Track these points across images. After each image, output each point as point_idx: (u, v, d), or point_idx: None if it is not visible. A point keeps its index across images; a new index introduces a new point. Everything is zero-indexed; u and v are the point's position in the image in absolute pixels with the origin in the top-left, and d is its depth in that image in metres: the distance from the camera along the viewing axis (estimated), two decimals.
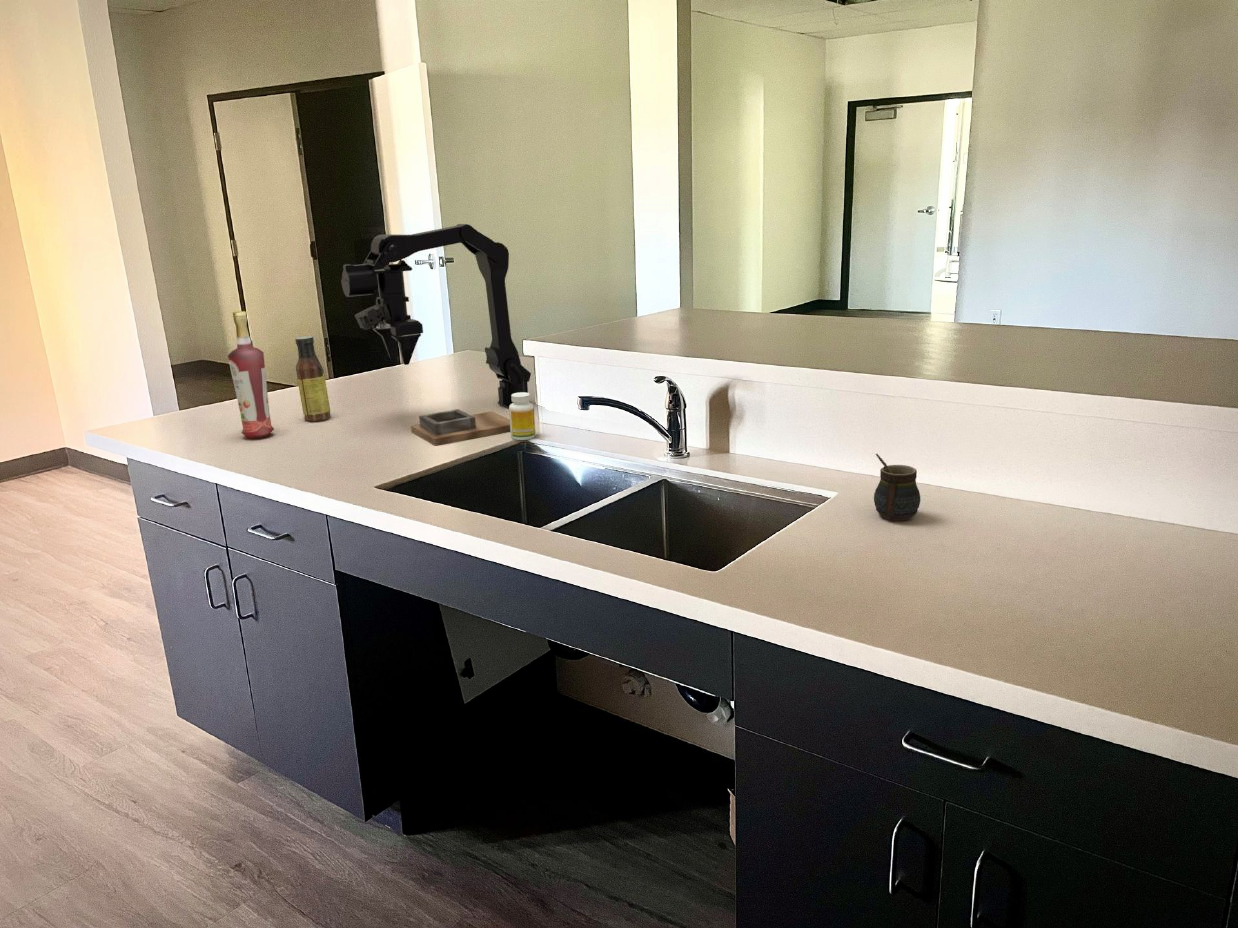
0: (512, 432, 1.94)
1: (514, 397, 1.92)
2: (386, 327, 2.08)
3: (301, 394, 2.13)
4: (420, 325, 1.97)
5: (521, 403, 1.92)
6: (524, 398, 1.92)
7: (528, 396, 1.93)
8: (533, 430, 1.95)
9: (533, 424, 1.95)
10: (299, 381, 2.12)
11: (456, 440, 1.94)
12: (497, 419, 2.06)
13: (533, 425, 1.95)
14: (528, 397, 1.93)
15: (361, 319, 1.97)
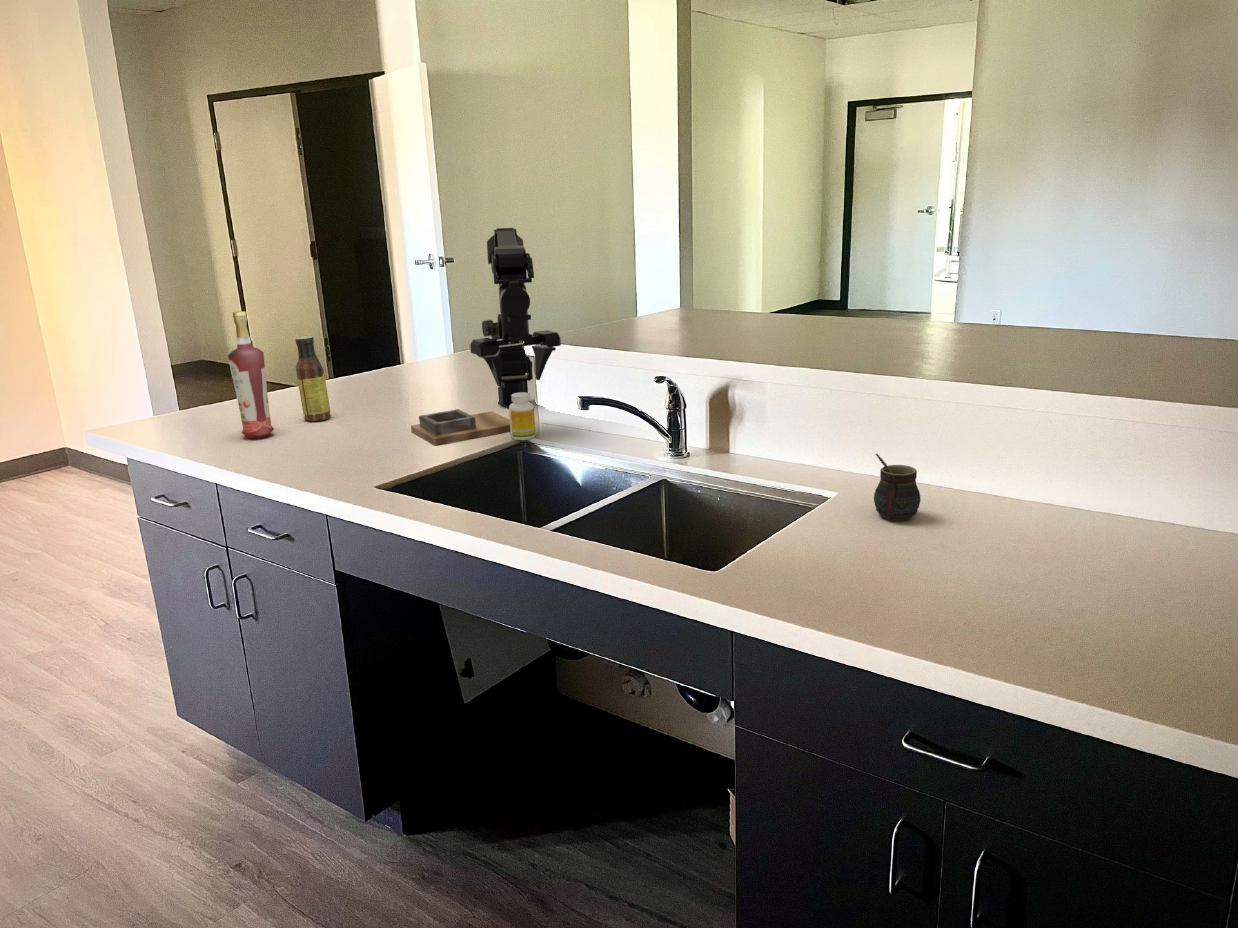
0: (512, 432, 1.94)
1: (514, 397, 1.92)
2: (538, 346, 1.94)
3: (301, 394, 2.13)
4: (480, 347, 1.83)
5: (521, 403, 1.92)
6: (524, 398, 1.92)
7: (528, 396, 1.93)
8: (533, 430, 1.95)
9: (533, 424, 1.95)
10: (299, 381, 2.12)
11: (456, 440, 1.94)
12: (497, 419, 2.06)
13: (533, 425, 1.95)
14: (528, 397, 1.93)
15: None
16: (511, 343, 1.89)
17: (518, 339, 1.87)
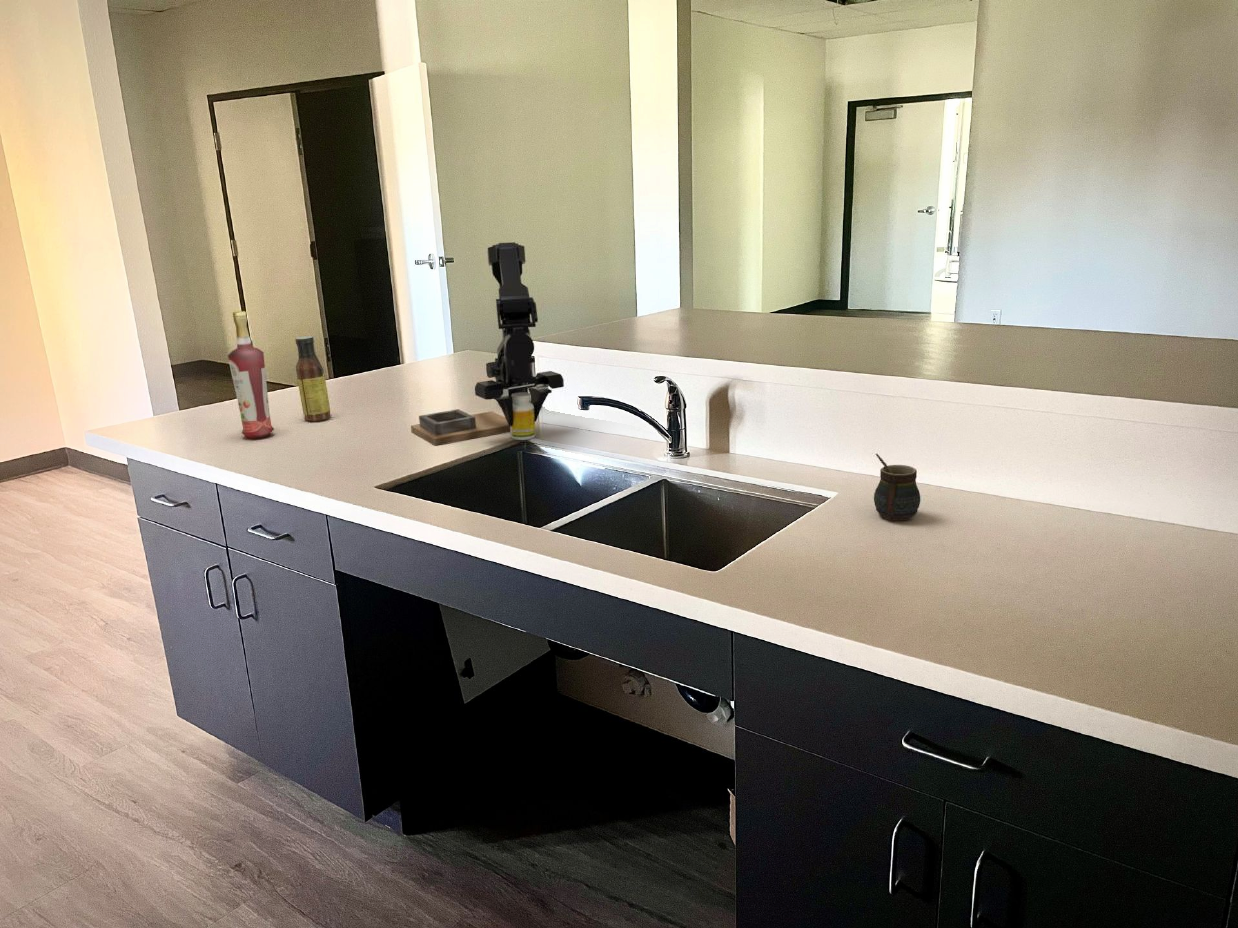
0: (512, 432, 1.94)
1: (514, 397, 1.92)
2: (535, 388, 1.95)
3: (301, 394, 2.13)
4: (485, 391, 1.86)
5: (521, 403, 1.92)
6: (524, 398, 1.92)
7: (528, 396, 1.93)
8: (533, 430, 1.95)
9: (533, 424, 1.95)
10: (299, 381, 2.12)
11: (456, 440, 1.94)
12: (497, 419, 2.06)
13: (533, 425, 1.95)
14: (528, 397, 1.93)
15: None
16: (522, 384, 1.92)
17: (522, 382, 1.90)
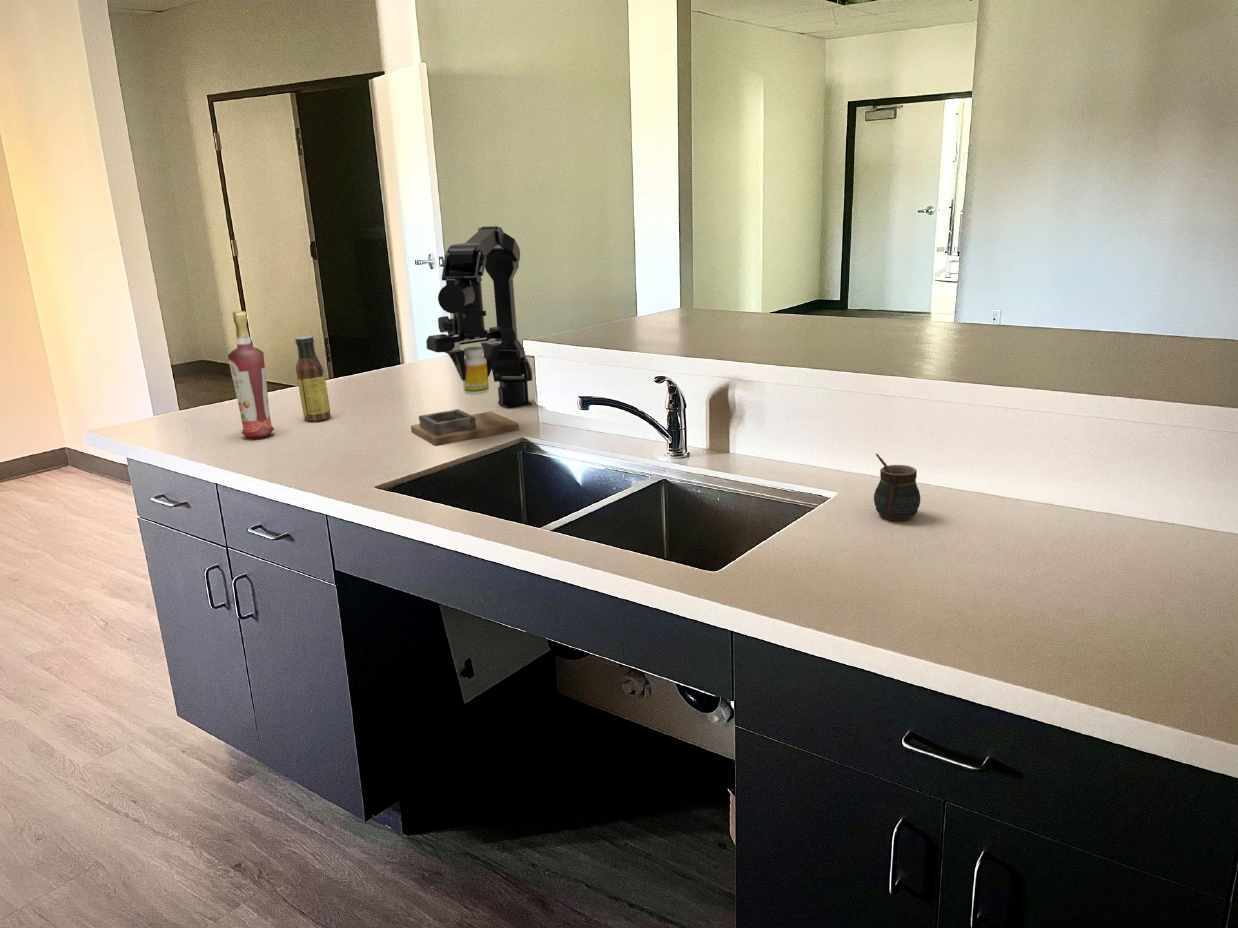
0: (465, 387, 1.94)
1: (466, 351, 1.92)
2: (487, 342, 1.95)
3: (301, 394, 2.13)
4: (436, 344, 1.85)
5: (473, 357, 1.92)
6: (476, 352, 1.91)
7: (480, 350, 1.92)
8: (486, 384, 1.94)
9: (486, 378, 1.94)
10: (299, 381, 2.12)
11: (456, 440, 1.94)
12: (497, 419, 2.06)
13: (486, 379, 1.94)
14: (481, 351, 1.92)
15: None
16: (474, 338, 1.92)
17: (474, 335, 1.89)
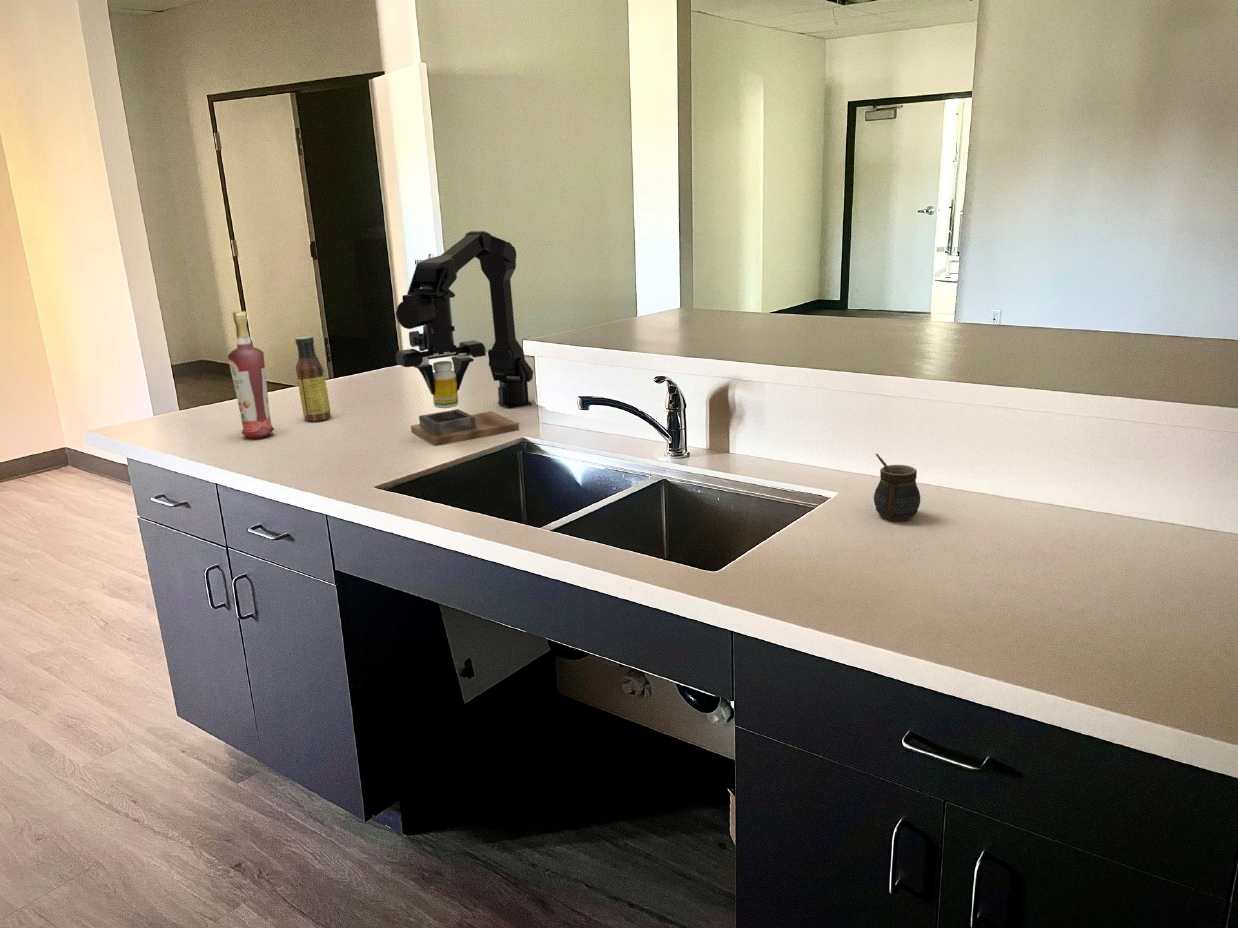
0: (434, 400, 1.97)
1: (435, 365, 1.94)
2: (457, 357, 1.98)
3: (301, 394, 2.13)
4: (404, 358, 1.88)
5: (442, 371, 1.95)
6: (445, 366, 1.94)
7: (449, 364, 1.95)
8: (455, 398, 1.97)
9: (455, 392, 1.97)
10: (299, 381, 2.12)
11: (456, 440, 1.94)
12: (497, 419, 2.06)
13: (455, 393, 1.97)
14: (449, 365, 1.95)
15: None
16: (443, 353, 1.95)
17: (442, 350, 1.92)
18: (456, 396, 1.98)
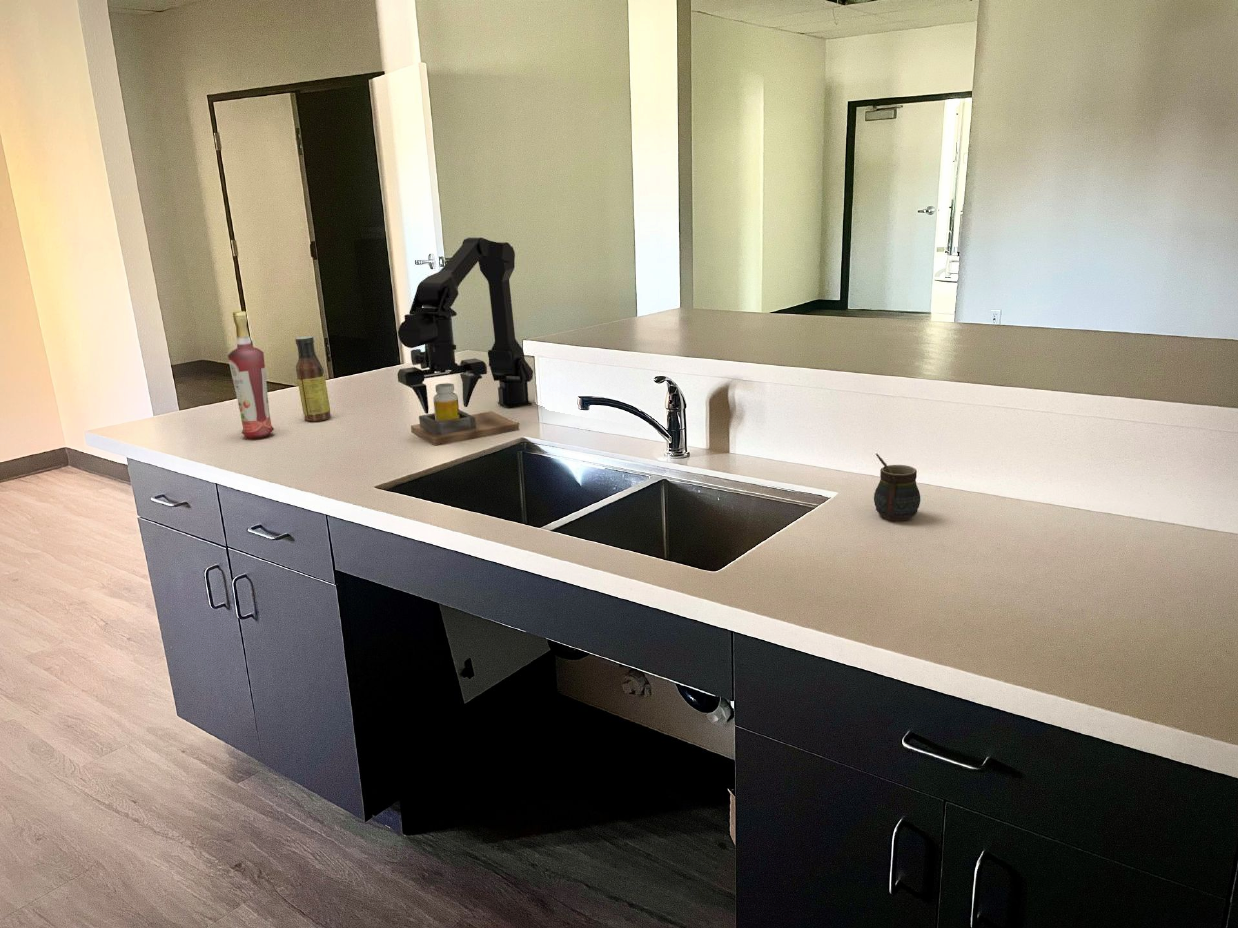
0: None
1: (437, 388, 1.96)
2: (466, 374, 2.00)
3: (301, 394, 2.13)
4: (406, 377, 1.90)
5: (444, 394, 1.96)
6: (447, 389, 1.96)
7: (451, 387, 1.97)
8: None
9: (457, 414, 1.99)
10: (299, 381, 2.12)
11: (456, 440, 1.94)
12: (497, 419, 2.06)
13: (457, 415, 1.99)
14: (451, 388, 1.97)
15: None
16: (437, 372, 1.95)
17: (443, 368, 1.93)
18: (458, 418, 1.99)
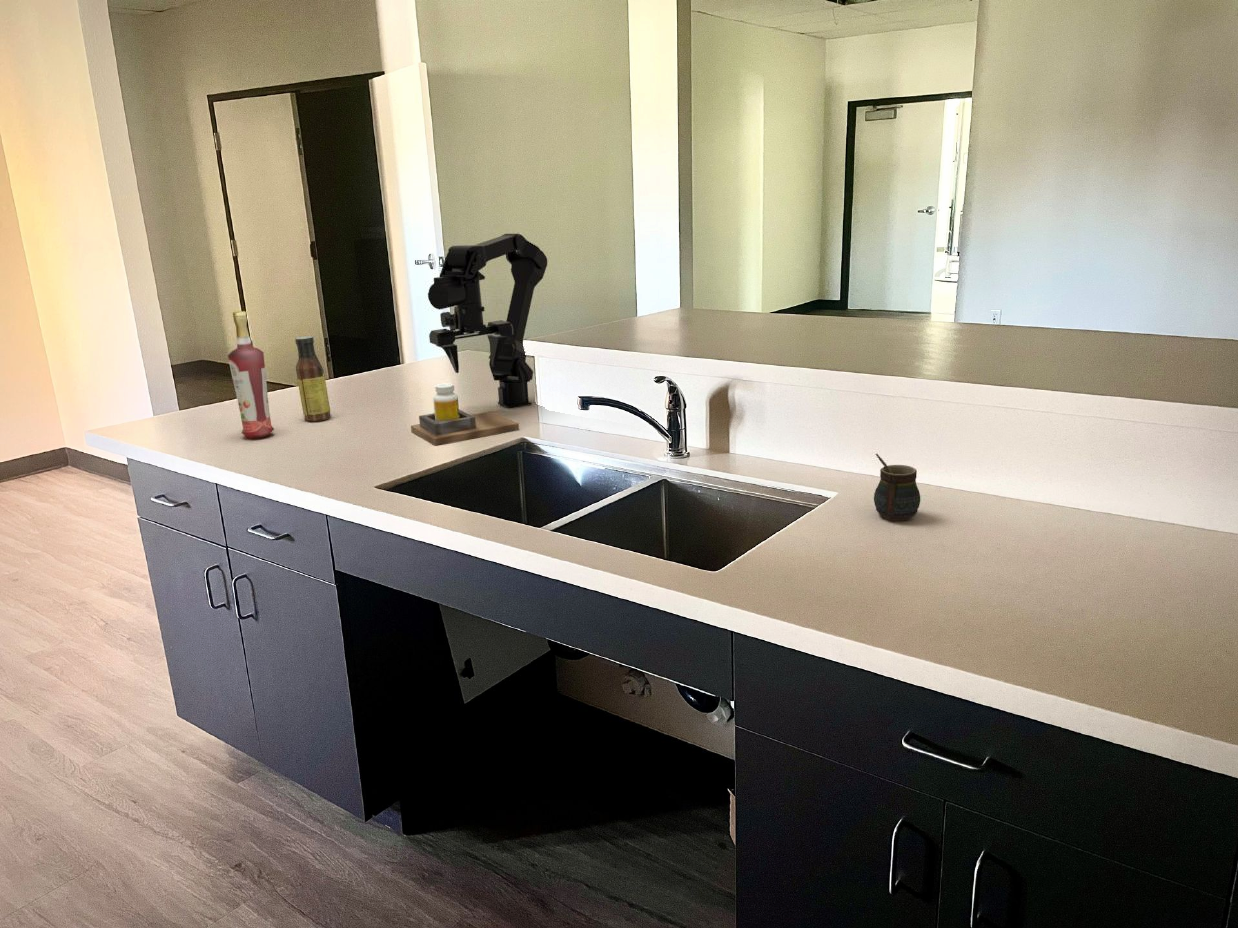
0: None
1: (437, 388, 1.96)
2: (493, 335, 2.10)
3: (301, 394, 2.13)
4: (438, 338, 2.00)
5: (444, 394, 1.96)
6: (447, 389, 1.96)
7: (451, 387, 1.97)
8: None
9: (457, 414, 1.99)
10: (299, 381, 2.12)
11: (456, 440, 1.94)
12: (497, 419, 2.06)
13: (457, 415, 1.99)
14: (451, 388, 1.97)
15: None
16: (467, 333, 2.05)
17: (473, 329, 2.04)
18: (458, 418, 1.99)
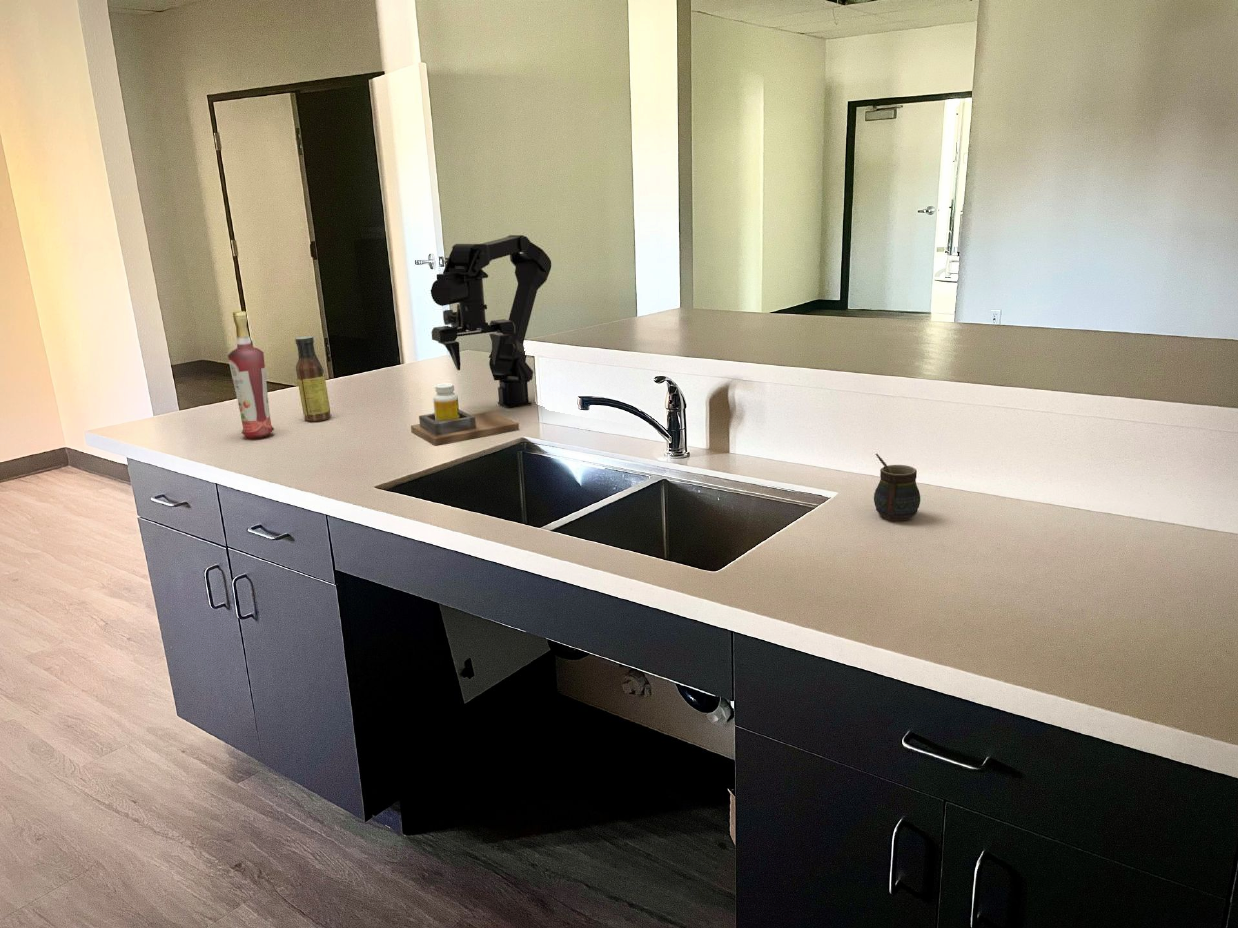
0: None
1: (437, 388, 1.96)
2: (495, 333, 2.11)
3: (301, 394, 2.13)
4: (440, 334, 2.01)
5: (444, 394, 1.96)
6: (447, 389, 1.96)
7: (451, 387, 1.97)
8: None
9: (457, 414, 1.99)
10: (299, 381, 2.12)
11: (456, 440, 1.94)
12: (497, 419, 2.06)
13: (457, 415, 1.99)
14: (451, 388, 1.97)
15: None
16: (469, 331, 2.06)
17: (475, 327, 2.05)
18: (458, 418, 1.99)
